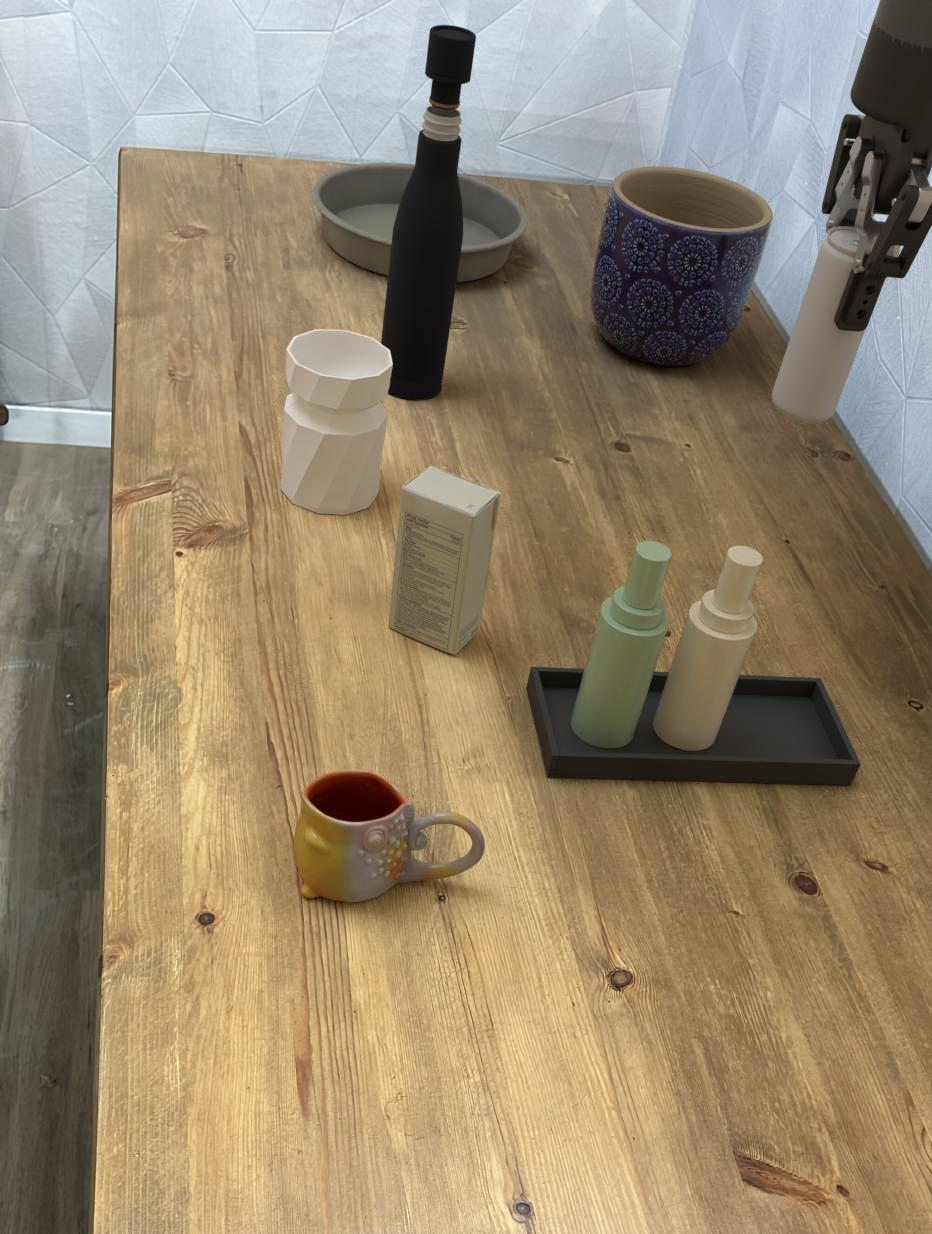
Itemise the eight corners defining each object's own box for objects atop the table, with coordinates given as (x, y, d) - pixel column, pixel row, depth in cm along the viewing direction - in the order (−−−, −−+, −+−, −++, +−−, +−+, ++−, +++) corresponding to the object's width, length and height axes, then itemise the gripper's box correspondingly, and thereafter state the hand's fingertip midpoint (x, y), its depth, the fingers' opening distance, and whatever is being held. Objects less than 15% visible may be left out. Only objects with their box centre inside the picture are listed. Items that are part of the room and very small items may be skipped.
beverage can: (755, 403, 99) (811, 233, 90) (793, 387, 101) (851, 219, 92) (809, 432, 97) (871, 261, 88) (846, 415, 99) (910, 247, 90)
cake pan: (558, 248, 159) (565, 208, 156) (452, 312, 144) (458, 269, 141) (384, 184, 166) (388, 144, 163) (266, 238, 151) (267, 195, 148)
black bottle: (369, 391, 130) (406, 33, 108) (386, 363, 135) (424, 13, 113) (433, 406, 130) (483, 50, 108) (447, 377, 134) (498, 29, 112)
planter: (730, 393, 139) (776, 244, 128) (573, 363, 140) (606, 211, 129) (730, 326, 151) (772, 183, 140) (584, 298, 151) (615, 153, 140)
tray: (811, 699, 106) (820, 677, 104) (850, 785, 99) (861, 764, 98) (525, 688, 102) (531, 666, 101) (547, 777, 96) (552, 755, 94)
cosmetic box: (480, 632, 106) (507, 492, 97) (453, 658, 104) (478, 517, 95) (410, 601, 108) (430, 461, 99) (382, 626, 105) (400, 484, 96)
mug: (283, 900, 85) (289, 824, 80) (301, 826, 89) (307, 749, 85) (471, 930, 85) (488, 856, 80) (479, 855, 90) (495, 780, 85)
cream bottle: (707, 710, 102) (769, 537, 91) (722, 752, 99) (789, 578, 88) (646, 708, 101) (702, 533, 90) (660, 750, 98) (719, 574, 87)
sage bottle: (627, 707, 101) (680, 532, 90) (640, 749, 98) (697, 573, 87) (565, 705, 100) (611, 528, 89) (576, 748, 97) (625, 569, 86)
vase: (358, 525, 114) (372, 390, 106) (263, 497, 116) (269, 361, 107) (392, 478, 120) (408, 346, 111) (301, 451, 121) (310, 319, 112)
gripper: (1040, 73, 77) (921, 364, 89) (954, -1, 86) (857, 271, 99) (917, 58, 76) (814, 354, 88) (843, -15, 85) (759, 262, 98)
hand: (837, 309), depth 93 cm, fingers closed on beverage can, 5 cm apart
